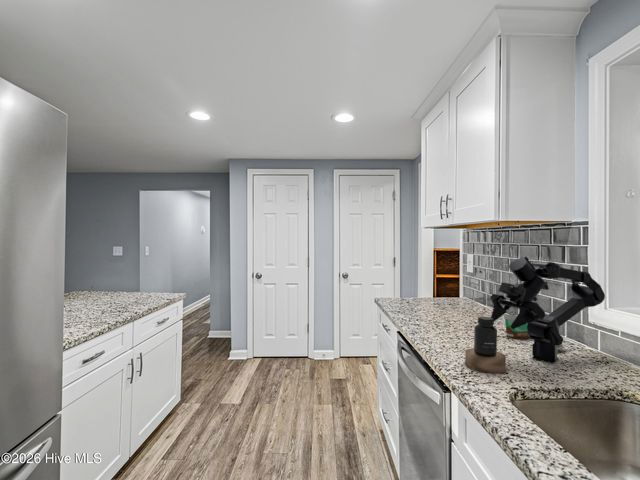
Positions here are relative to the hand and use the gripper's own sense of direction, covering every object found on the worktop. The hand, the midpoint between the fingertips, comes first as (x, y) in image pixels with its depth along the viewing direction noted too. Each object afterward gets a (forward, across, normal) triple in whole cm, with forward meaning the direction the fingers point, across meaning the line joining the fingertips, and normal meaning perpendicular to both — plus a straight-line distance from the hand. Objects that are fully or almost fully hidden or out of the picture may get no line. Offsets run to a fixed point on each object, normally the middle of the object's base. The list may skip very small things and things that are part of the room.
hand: (501, 324), depth 114 cm
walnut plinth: (+14, 0, +5) cm, 15 cm away
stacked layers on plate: (-11, -8, +31) cm, 34 cm away
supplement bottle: (+11, 0, +2) cm, 11 cm away
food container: (-12, -24, +32) cm, 41 cm away
